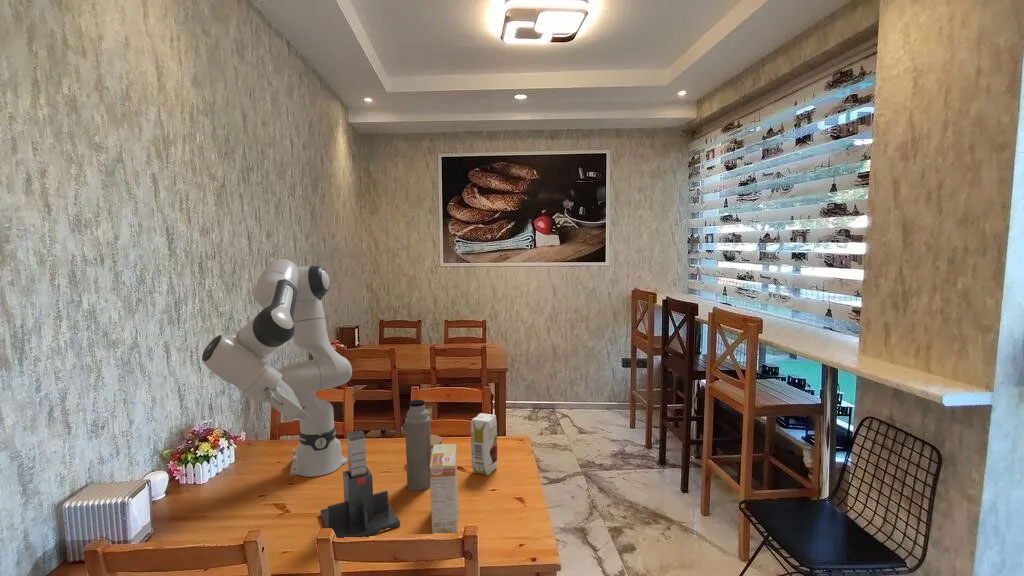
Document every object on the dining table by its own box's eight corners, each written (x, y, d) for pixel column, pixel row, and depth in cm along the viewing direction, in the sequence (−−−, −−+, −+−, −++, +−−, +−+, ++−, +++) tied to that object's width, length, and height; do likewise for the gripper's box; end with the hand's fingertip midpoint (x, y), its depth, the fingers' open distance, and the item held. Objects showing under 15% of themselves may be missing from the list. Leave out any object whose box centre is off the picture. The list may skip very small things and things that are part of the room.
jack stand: (320, 515, 143) (318, 468, 142) (381, 498, 152) (380, 454, 151) (332, 547, 127) (330, 495, 126) (400, 526, 136) (398, 477, 135)
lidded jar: (444, 464, 175) (444, 439, 174) (414, 469, 172) (413, 443, 171) (440, 452, 185) (439, 428, 184) (411, 456, 182) (410, 432, 181)
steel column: (349, 512, 140) (346, 433, 138) (364, 508, 142) (361, 429, 140) (353, 519, 137) (349, 438, 135) (368, 515, 139) (365, 434, 137)
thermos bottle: (435, 480, 163) (433, 398, 161) (426, 491, 156) (424, 406, 153) (413, 478, 165) (410, 397, 163) (403, 489, 157) (400, 404, 155)
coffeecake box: (434, 507, 146) (433, 444, 145) (458, 505, 147) (457, 443, 145) (430, 536, 131) (428, 466, 130) (457, 535, 132) (455, 465, 130)
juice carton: (469, 473, 168) (468, 419, 166) (480, 463, 176) (479, 411, 174) (489, 477, 165) (488, 422, 163) (499, 466, 173) (498, 414, 171)
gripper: (277, 384, 117) (322, 416, 123) (270, 366, 134) (310, 395, 140) (257, 405, 115) (304, 437, 121) (252, 385, 133) (293, 413, 138)
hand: (307, 414), depth 131 cm, fingers open, 8 cm apart
